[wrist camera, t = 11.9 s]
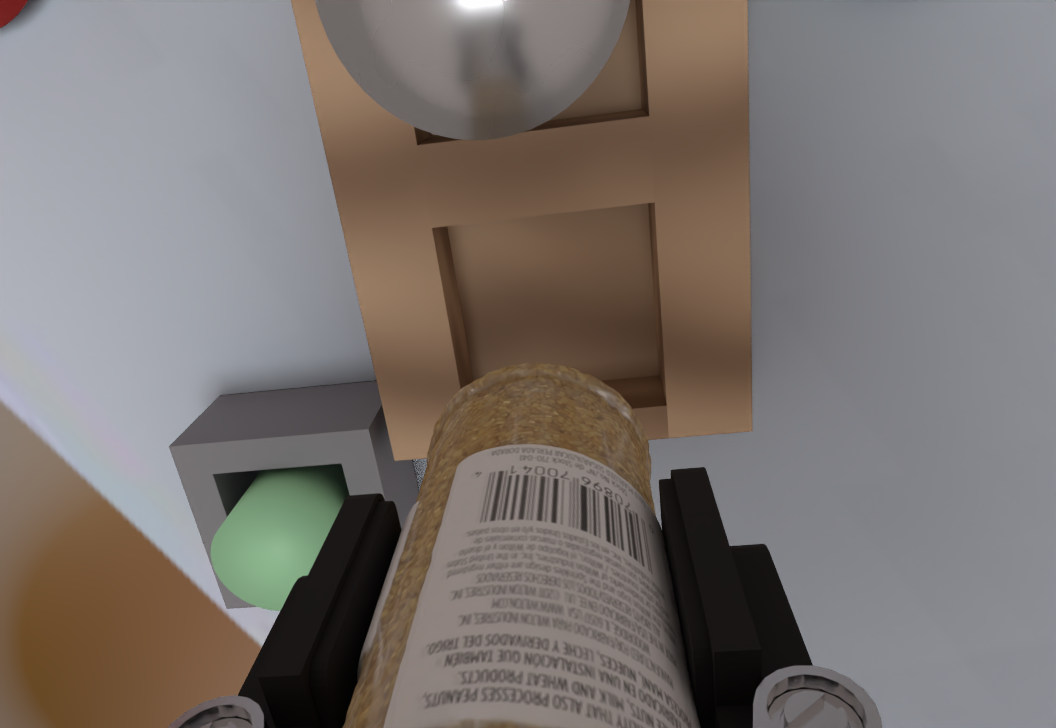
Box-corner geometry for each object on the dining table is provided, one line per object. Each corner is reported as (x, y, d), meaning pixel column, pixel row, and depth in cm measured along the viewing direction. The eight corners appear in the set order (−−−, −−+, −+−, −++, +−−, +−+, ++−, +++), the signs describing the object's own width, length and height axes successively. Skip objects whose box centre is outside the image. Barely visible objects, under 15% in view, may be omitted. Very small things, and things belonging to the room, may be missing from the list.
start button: (375, 528, 29) (343, 607, 25) (276, 535, 30) (230, 614, 26) (353, 438, 28) (315, 506, 24) (249, 447, 28) (195, 516, 24)
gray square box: (427, 531, 31) (408, 597, 27) (266, 543, 32) (226, 608, 28) (394, 379, 28) (368, 429, 25) (219, 395, 29) (168, 446, 25)
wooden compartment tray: (731, 384, 28) (752, 431, 24) (415, 413, 29) (394, 460, 26) (717, -202, 21) (744, -247, 17) (302, -132, 22) (254, -163, 19)
